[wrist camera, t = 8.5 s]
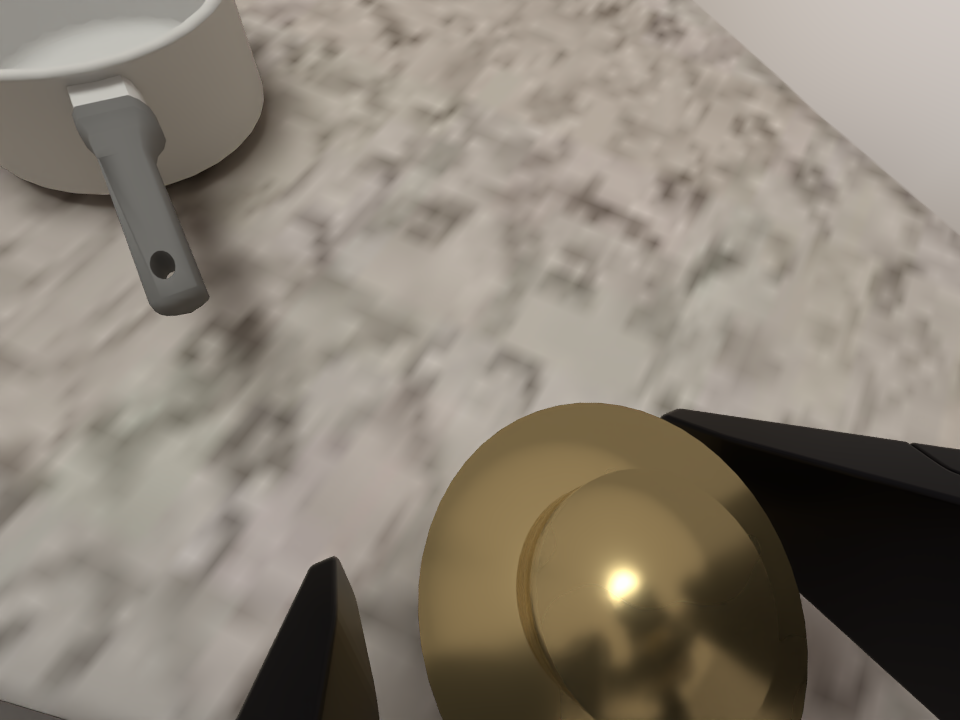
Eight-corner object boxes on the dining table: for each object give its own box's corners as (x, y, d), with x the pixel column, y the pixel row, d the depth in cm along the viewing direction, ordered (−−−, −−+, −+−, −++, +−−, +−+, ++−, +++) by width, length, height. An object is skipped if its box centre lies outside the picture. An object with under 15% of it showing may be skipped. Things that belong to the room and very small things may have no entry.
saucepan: (67, 468, 13) (-147, 410, 8) (-35, 69, 20) (-194, -102, 15) (408, 317, 17) (401, 213, 12) (231, 18, 23) (177, -134, 18)
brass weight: (597, 563, 14) (939, 555, 5) (510, 707, 12) (790, 1144, 3) (484, 467, 15) (589, 305, 6) (387, 588, 13) (304, 643, 4)
